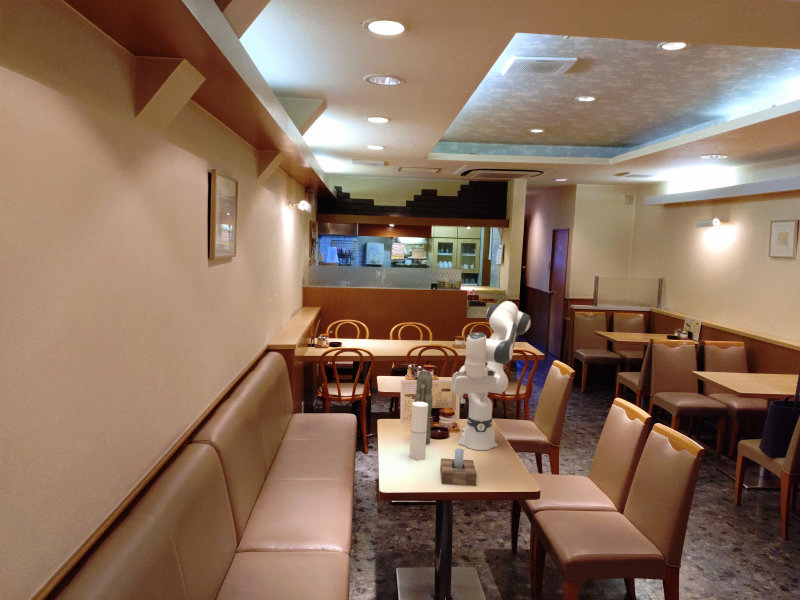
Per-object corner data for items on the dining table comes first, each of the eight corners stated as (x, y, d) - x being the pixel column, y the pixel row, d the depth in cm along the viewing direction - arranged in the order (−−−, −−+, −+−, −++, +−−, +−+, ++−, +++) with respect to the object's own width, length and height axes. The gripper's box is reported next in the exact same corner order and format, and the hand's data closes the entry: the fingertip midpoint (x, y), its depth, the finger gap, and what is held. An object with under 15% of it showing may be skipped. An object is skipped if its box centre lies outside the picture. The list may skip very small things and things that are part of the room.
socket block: (440, 469, 237) (440, 458, 236) (472, 471, 237) (473, 460, 236) (441, 483, 223) (442, 472, 222) (475, 485, 223) (476, 474, 222)
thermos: (411, 445, 262) (415, 374, 258) (412, 436, 274) (416, 368, 270) (430, 446, 262) (434, 376, 258) (430, 437, 274) (434, 370, 270)
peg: (451, 475, 231) (453, 448, 230) (459, 475, 232) (461, 448, 231) (455, 479, 228) (457, 452, 226) (463, 478, 229) (465, 451, 227)
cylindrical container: (407, 458, 247) (410, 404, 244) (412, 452, 254) (415, 400, 251) (421, 461, 244) (425, 407, 242) (427, 455, 251) (430, 403, 248)
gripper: (456, 373, 224) (453, 406, 225) (499, 371, 231) (496, 403, 233) (449, 370, 230) (447, 401, 231) (491, 368, 237) (489, 398, 239)
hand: (472, 402), depth 232 cm, fingers open, 8 cm apart
